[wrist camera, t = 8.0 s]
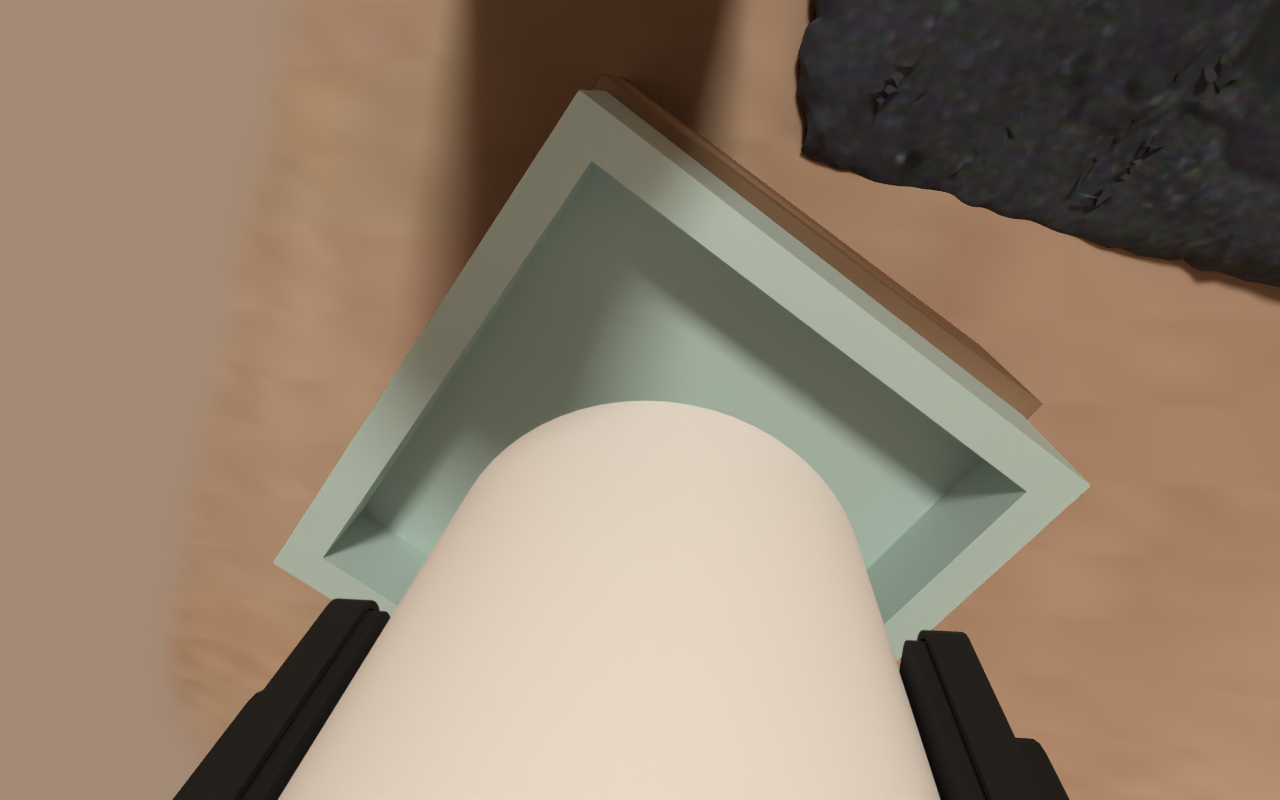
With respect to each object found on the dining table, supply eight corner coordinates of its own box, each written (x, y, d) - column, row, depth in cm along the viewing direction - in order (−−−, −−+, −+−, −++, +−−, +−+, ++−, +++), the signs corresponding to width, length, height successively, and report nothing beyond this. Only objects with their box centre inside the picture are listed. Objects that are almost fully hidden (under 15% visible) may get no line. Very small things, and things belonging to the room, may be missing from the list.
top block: (706, 723, 22) (705, 833, 19) (344, 487, 20) (272, 562, 17) (1022, 414, 18) (1090, 485, 15) (605, 90, 16) (578, 89, 13)
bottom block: (718, 618, 27) (719, 729, 22) (410, 418, 25) (340, 492, 20) (974, 340, 23) (1042, 404, 18) (627, 79, 21) (602, 73, 16)
